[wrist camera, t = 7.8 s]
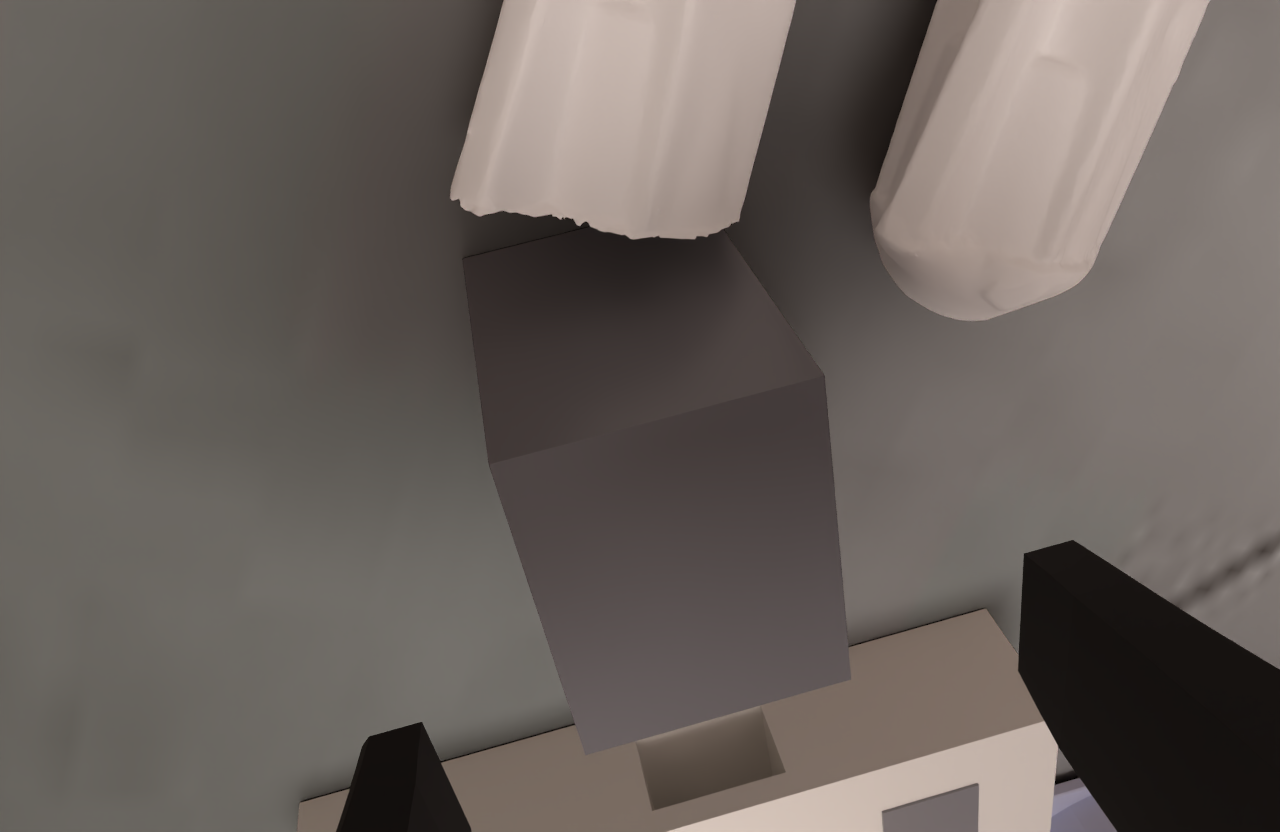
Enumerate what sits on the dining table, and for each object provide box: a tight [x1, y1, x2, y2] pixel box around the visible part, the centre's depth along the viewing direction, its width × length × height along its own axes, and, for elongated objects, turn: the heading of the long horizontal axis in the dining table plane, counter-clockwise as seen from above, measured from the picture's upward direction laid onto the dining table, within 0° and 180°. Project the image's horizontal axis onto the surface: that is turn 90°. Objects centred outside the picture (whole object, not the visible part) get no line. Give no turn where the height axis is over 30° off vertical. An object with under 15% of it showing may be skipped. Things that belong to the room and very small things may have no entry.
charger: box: [463, 227, 851, 755], centre depth 18 cm, size 4×9×6 cm, turn 10°
